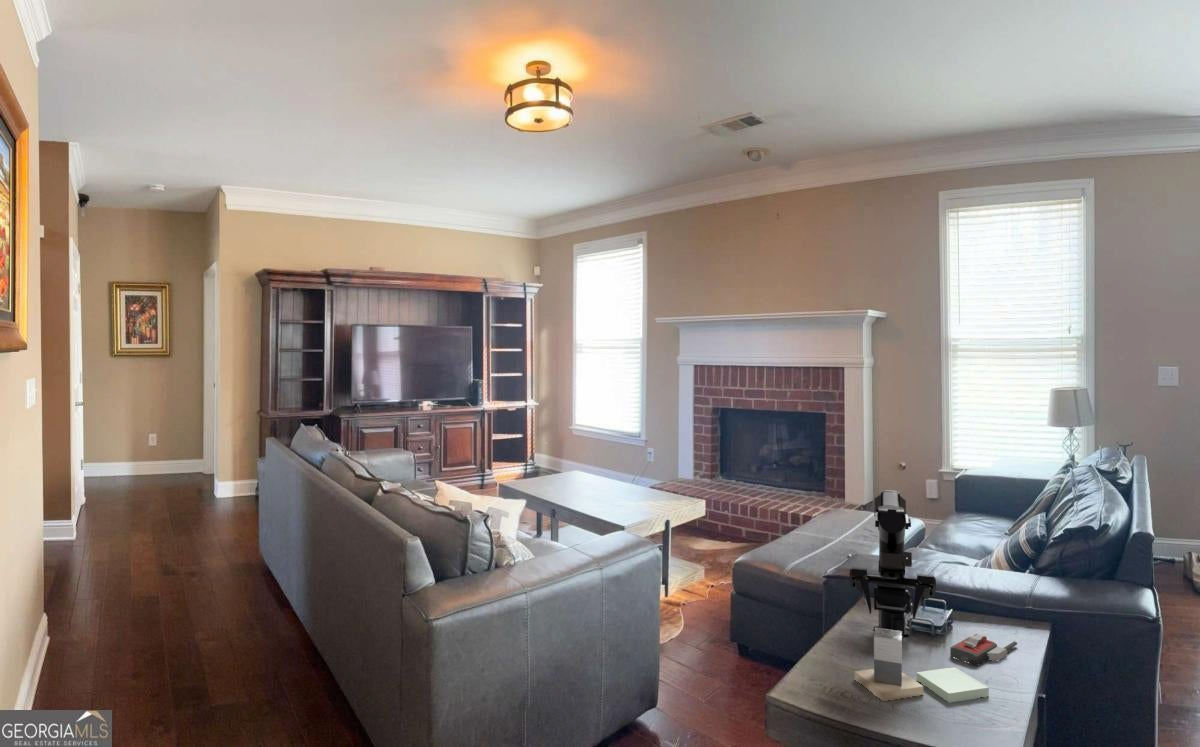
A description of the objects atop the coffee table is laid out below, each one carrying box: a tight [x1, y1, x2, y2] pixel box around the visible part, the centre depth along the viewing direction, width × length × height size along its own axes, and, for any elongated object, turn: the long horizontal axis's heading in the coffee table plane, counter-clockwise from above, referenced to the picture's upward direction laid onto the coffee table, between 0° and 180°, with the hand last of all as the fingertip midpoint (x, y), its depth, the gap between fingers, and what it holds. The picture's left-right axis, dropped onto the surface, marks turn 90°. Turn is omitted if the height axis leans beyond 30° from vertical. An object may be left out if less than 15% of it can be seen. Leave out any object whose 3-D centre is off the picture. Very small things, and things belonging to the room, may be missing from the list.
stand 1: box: [854, 668, 924, 702], centre depth 151 cm, size 10×10×2 cm
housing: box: [873, 627, 903, 687], centre depth 151 cm, size 6×6×10 cm
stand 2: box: [915, 666, 990, 704], centre depth 150 cm, size 10×10×2 cm
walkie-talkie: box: [949, 633, 1018, 666], centre depth 168 cm, size 9×4×20 cm
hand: (891, 615), depth 157 cm, fingers open, 9 cm apart
